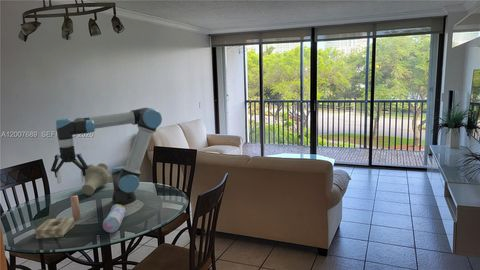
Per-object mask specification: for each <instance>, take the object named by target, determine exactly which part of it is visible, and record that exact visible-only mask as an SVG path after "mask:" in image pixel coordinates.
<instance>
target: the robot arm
mask: <svg viewBox="0 0 480 270" xmlns="http://www.w3.org/2000/svg"><path fill="white" fill-rule="evenodd" d="M162 122H163V117H162V113H160V111H159V110H157V109H155V108H149V107H141V108H137V109H131V110H130V111H128V112H120V113H111V114H105V115H97V116H89V117H77V118H75V119H74V120H73V121H72V120H71V118H68V117H66V118H57V119H56V121H55V125H56V126H55V129H56V135H57V141H58V147H59V148H58V149H59V154H56V155H54V160H53V163H52V166H51V169H50V172H52V173H53V172H54V177H55V178H56V181H57V184H61V183H62V179H61V178H62V175H61V171H59V170H60V168H61V167H62V166H63V165H64V163H73V164H74V165H75V166H77V168H79V169H80V177H81V183H85V182H86V181H85V176H86V170H87V169H88V168H89V167H88V164H87V163H86V161H85V160H84V158H83V156H82V154H81V153H80V152H79V153H77V154H76V152H75V151H76V150H75V146H74V137H73V136H74V135H82V134H83V135H84V134H91V133H95V131H96V129H104V128H110V127H116V126H117V127H118V126H123V125H124V126H125V125H133V126H135V125H137V126H136V127H137V129H138V131H137V134H136V136H135V138H134V142H133V143H132V147H131V150H130V153H129V156H128V159H127V161H126V164H125V165H120V166H117V167H113V168H111V179H112V185H113V194H112V198H111V202H112V204H113V205H116V204H119V205H126V204H131V203H133V202H134V201H136V200H137V195H136V193H135V191H136V190H137V189H138V188H139V186H140V179H139V178H140V176H141V171H140V168H141V166H142V163H143V160H144V157H145V155H146V152H147V149H148V147H149V144H150V141H151V138H152V134H154V133H156V132H157V131H156V130H157V128H159V126H161V124H162ZM60 159H61V160H60ZM59 160H60V162H59ZM58 162H59V163H58Z"/></svg>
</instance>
